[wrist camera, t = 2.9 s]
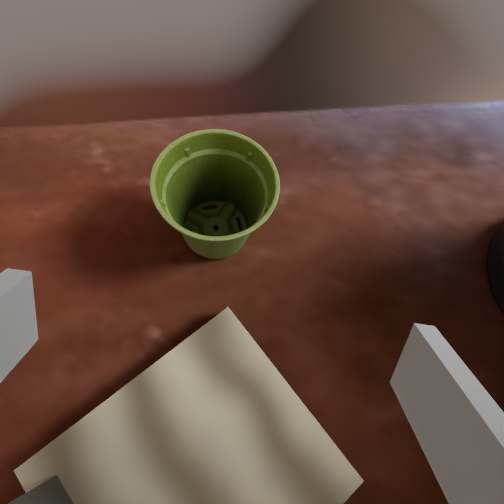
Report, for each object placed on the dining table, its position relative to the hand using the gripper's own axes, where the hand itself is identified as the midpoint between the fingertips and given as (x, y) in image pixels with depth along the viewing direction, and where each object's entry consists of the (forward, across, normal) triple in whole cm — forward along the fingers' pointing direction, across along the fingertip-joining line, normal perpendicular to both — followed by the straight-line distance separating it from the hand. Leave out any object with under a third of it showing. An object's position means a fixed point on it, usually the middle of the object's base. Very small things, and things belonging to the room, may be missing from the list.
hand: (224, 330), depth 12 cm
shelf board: (+8, 0, -19) cm, 20 cm away
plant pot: (+22, -2, -5) cm, 22 cm away
